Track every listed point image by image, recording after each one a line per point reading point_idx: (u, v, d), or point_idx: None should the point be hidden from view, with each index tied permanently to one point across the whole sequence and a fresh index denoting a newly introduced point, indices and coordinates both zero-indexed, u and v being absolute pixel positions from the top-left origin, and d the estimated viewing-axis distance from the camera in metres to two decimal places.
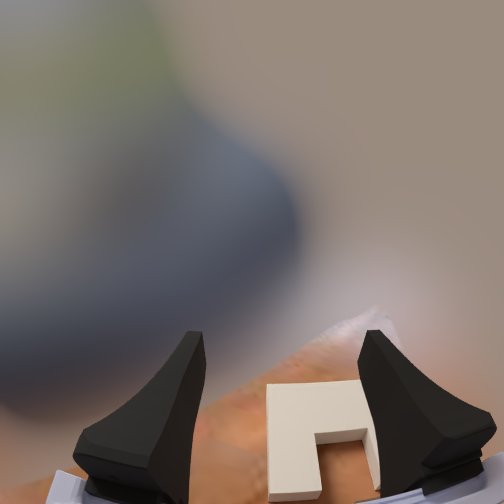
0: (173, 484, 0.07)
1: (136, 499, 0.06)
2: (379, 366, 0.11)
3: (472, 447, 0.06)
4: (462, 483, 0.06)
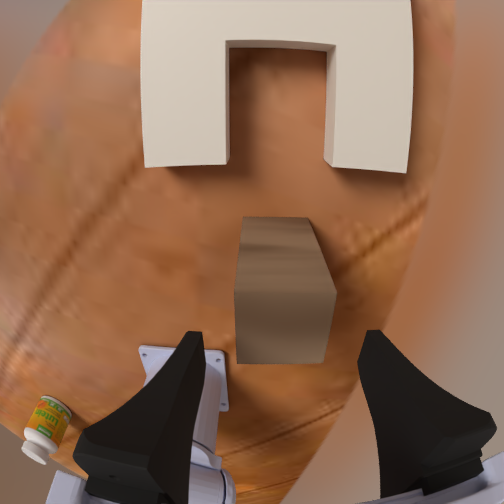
0: (173, 484, 0.07)
1: (136, 499, 0.06)
2: (379, 366, 0.11)
3: (472, 447, 0.06)
4: (462, 483, 0.06)
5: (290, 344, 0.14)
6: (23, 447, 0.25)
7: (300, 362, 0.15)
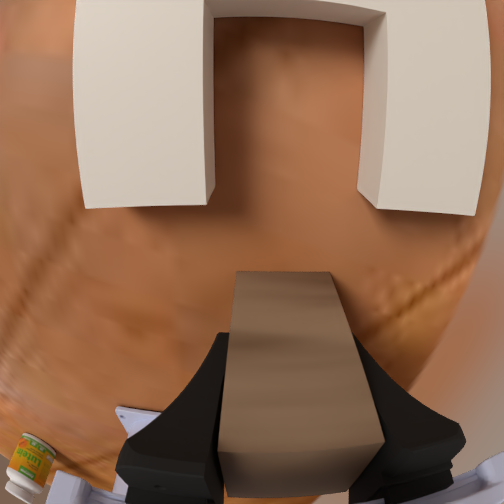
0: (216, 489, 0.07)
1: None
2: None
3: (439, 459, 0.06)
4: (430, 495, 0.06)
5: (303, 485, 0.08)
6: (6, 488, 0.19)
7: (315, 494, 0.09)
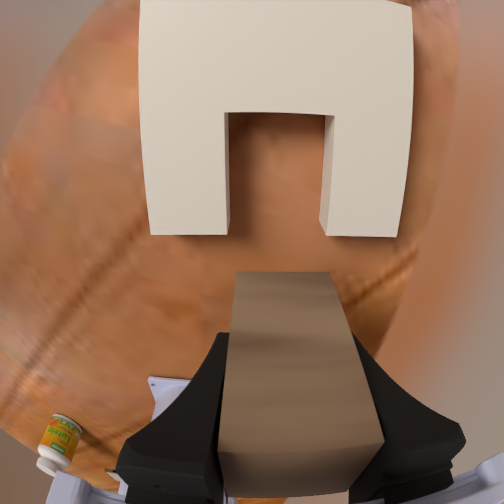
0: (216, 489, 0.07)
1: None
2: None
3: (439, 459, 0.06)
4: (430, 495, 0.06)
5: (303, 485, 0.08)
6: (38, 463, 0.27)
7: (315, 494, 0.09)
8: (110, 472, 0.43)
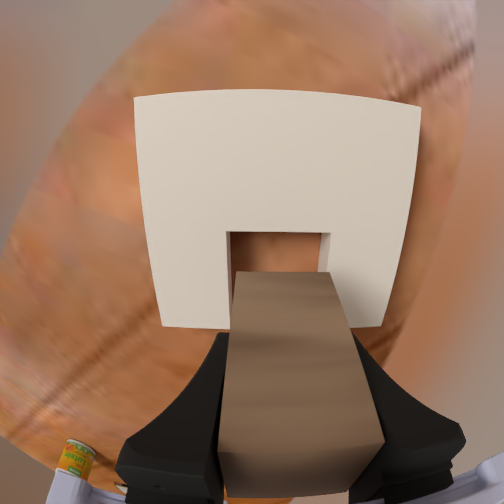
0: (216, 489, 0.07)
1: None
2: None
3: (439, 459, 0.06)
4: (430, 495, 0.06)
5: (303, 485, 0.08)
6: None
7: (315, 494, 0.08)
8: (119, 486, 0.45)
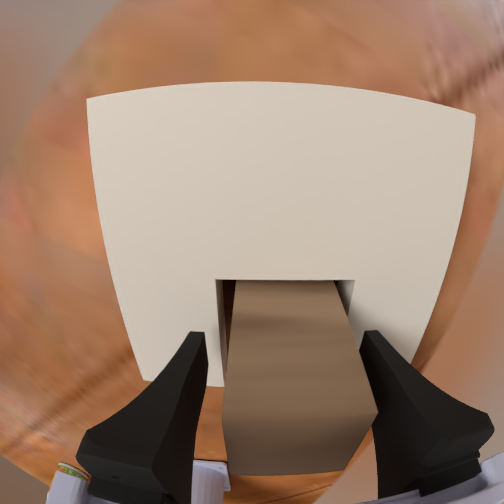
0: (176, 484, 0.07)
1: (140, 500, 0.06)
2: (376, 366, 0.11)
3: (470, 448, 0.06)
4: (460, 484, 0.06)
5: (302, 460, 0.09)
6: None
7: (313, 472, 0.09)
8: None
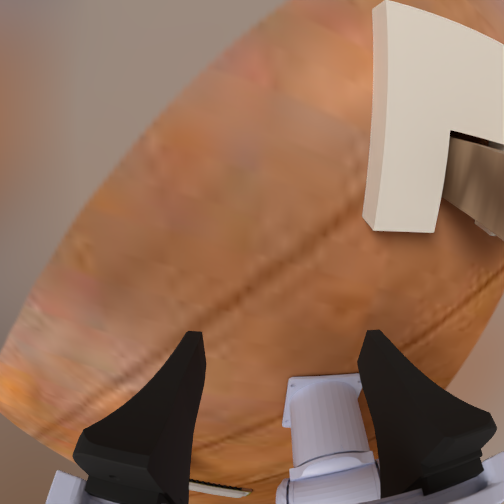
0: (173, 484, 0.07)
1: (136, 499, 0.06)
2: (379, 366, 0.11)
3: (472, 447, 0.06)
4: (462, 483, 0.06)
5: None
6: None
7: None
8: None
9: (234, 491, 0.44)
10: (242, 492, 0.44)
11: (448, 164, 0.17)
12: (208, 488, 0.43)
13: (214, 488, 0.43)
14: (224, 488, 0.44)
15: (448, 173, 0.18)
